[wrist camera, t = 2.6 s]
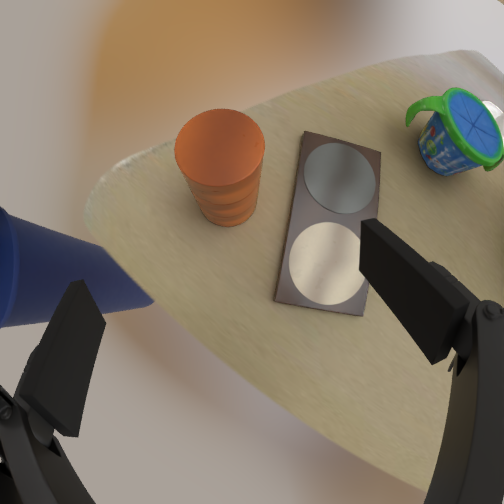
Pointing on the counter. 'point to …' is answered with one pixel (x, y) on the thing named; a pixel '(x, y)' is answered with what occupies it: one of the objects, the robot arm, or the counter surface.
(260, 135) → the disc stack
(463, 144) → the snack cup
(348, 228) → the board
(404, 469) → the counter surface
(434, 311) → the robot arm
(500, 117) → the candle holder
